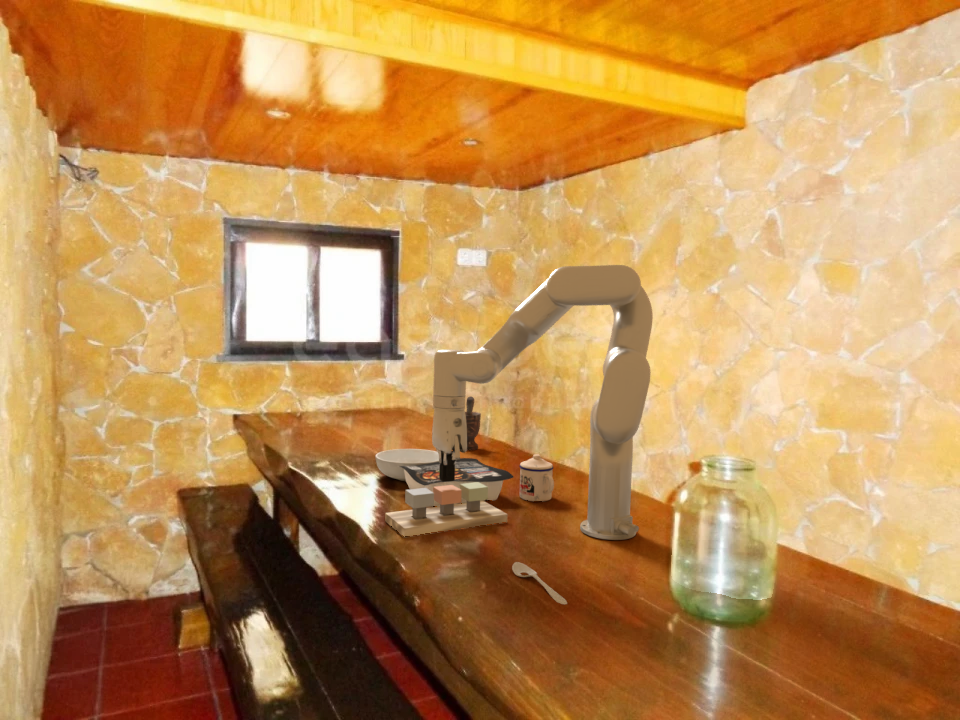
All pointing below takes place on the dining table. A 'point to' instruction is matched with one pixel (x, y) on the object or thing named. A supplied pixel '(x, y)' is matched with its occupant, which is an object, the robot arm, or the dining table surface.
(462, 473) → the food packaging
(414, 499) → the slate button
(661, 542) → the dining table surface
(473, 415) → the mortar and pestle
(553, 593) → the spoon
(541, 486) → the teacup with lid
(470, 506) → the sage button
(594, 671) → the dining table surface
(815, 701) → the dining table surface
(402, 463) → the serving bowl
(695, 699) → the dining table surface
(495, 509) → the button board
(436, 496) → the terracotta button
